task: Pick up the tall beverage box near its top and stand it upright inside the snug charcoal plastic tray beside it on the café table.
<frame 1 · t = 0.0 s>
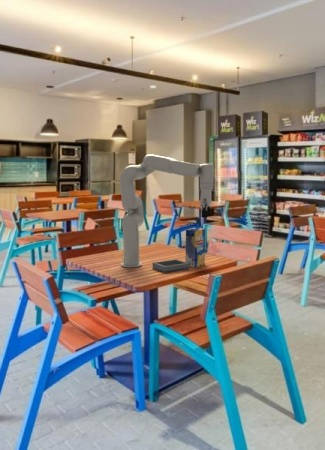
hand: (206, 216, 238), 31 cm above the table, tool pointing down, fingers open, 9 cm apart
beverage box: (195, 265, 256), on the table
tray: (170, 268, 246), on the table
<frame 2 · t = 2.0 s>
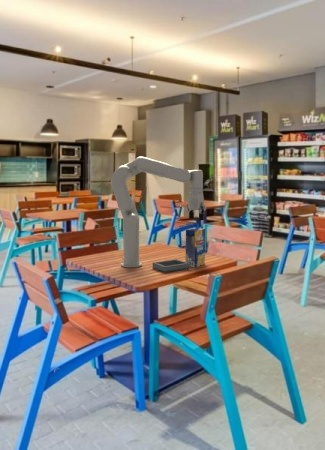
hand: (196, 219, 252), 28 cm above the table, tool pointing down, fingers open, 9 cm apart
nothing on the table moved.
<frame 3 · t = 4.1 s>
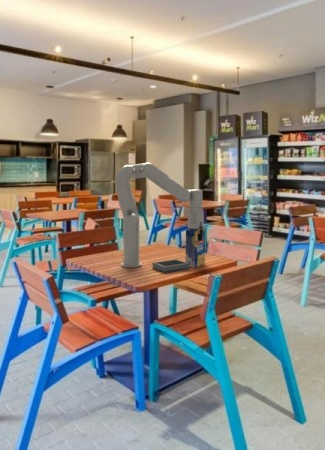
hand: (195, 239, 254), 16 cm above the table, tool pointing down, fingers closed on beverage box, 8 cm apart
beverage box: (195, 265, 256), on the table, touching gripper
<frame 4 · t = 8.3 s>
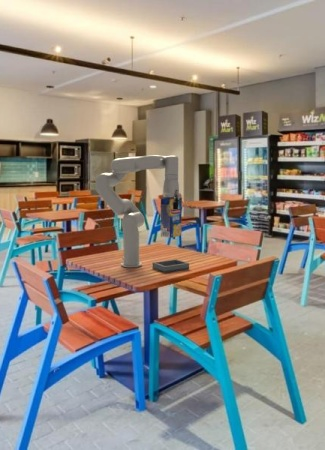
hand: (171, 208, 242), 35 cm above the table, tool pointing down, fingers closed on beverage box, 7 cm apart
beverage box: (171, 236, 244), point 19 cm above the table, touching gripper
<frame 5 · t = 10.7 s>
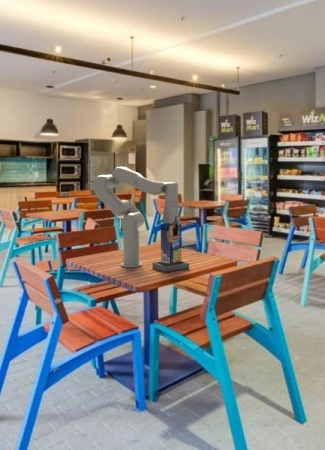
hand: (171, 234, 244), 21 cm above the table, tool pointing down, fingers closed on beverage box, 7 cm apart
beverage box: (171, 261, 245), point 4 cm above the table, touching gripper
when the fingers open (18 cm above the table, at t = 12.4 s): beverage box drops 1 cm, resting on tray.
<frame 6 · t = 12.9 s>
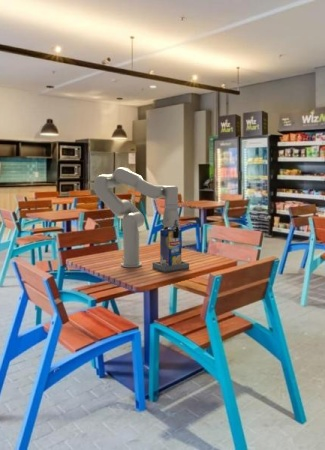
hand: (171, 236, 244), 19 cm above the table, tool pointing down, fingers open, 9 cm apart
beverage box: (170, 267, 246), point 1 cm above the table, touching tray
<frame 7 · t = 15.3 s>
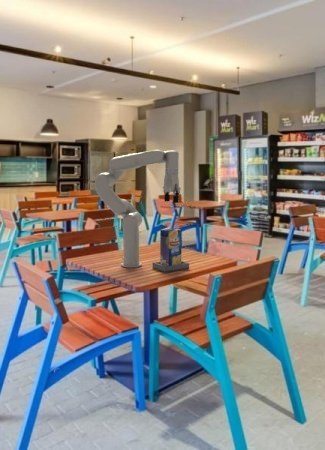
hand: (171, 201, 245), 39 cm above the table, tool pointing down, fingers open, 9 cm apart
nothing on the table moved.
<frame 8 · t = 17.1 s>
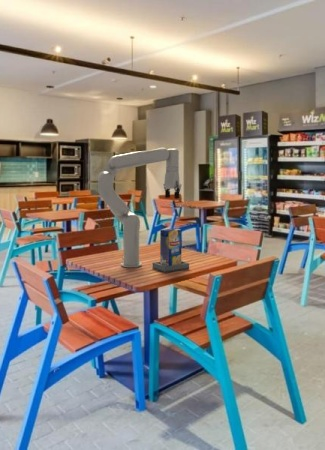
hand: (172, 198, 256), 40 cm above the table, tool pointing down, fingers open, 9 cm apart
nothing on the table moved.
at the end: beverage box 0.1 cm off-centre on the tray, point 0.8 cm above the tray's base; beverage box tilted 0°; the gripper is holding nothing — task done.
